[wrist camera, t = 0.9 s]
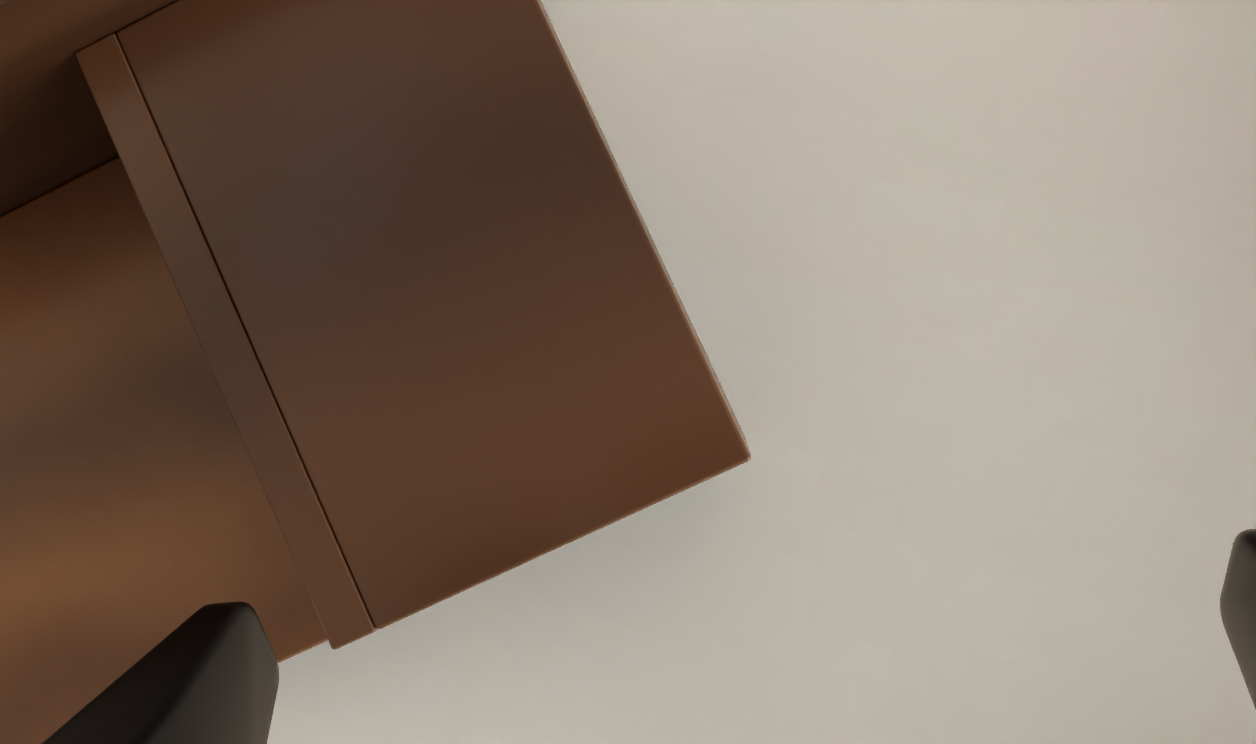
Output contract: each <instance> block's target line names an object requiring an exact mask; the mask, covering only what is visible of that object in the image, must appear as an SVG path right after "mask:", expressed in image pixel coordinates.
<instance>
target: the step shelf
mask: <svg viewBox="0 0 1256 744" xmlns="http://www.w3.org/2000/svg"><path fill="white" fill-rule="evenodd" d="M750 459H751V455H750V452H749V449H748V445H747V442H746V439H745V436H744V434H743V432H742V430H741V428H740V426H739V423H738V421H737V419H736V417H735V415H734V413H733V411H732V408H731V406H730V404H729V402H728V400H727V398H726V396H725V393H724V391H723V389H722V387H721V385H720V383H719V381H718V379H717V376H716V374H715V372H714V370H713V368H712V366H711V364H710V361H709V359H708V357H707V355H706V353H705V351H704V349H703V346H702V344H701V342H700V340H699V338H698V336H697V334H696V332H695V329H694V327H693V325H692V323H691V321H690V319H689V317H688V314H687V312H686V310H685V308H684V306H683V304H682V302H681V299H680V297H679V295H678V293H677V291H676V289H675V287H674V285H673V282H672V280H671V278H670V276H669V274H668V272H667V270H666V267H665V265H664V263H663V261H662V259H661V257H660V255H659V252H658V250H657V248H656V246H655V244H654V242H653V240H652V238H651V235H650V233H649V231H648V229H647V227H646V225H645V223H644V220H643V218H642V216H641V214H640V212H639V210H638V208H637V205H636V203H635V201H634V199H633V197H632V195H631V193H630V191H629V188H628V186H627V184H626V182H625V180H624V178H623V176H622V173H621V171H620V169H619V167H618V165H617V163H616V161H615V159H614V156H613V154H612V152H611V150H610V148H609V146H608V144H607V141H606V139H605V137H604V135H603V133H602V131H601V129H600V126H599V124H598V122H597V120H596V118H595V116H594V114H593V112H592V109H591V107H590V105H589V103H588V101H587V99H586V97H585V94H584V92H583V90H582V88H581V86H580V84H579V82H578V79H577V77H576V75H575V73H574V71H573V69H572V67H571V65H570V62H569V60H568V58H567V56H566V54H565V52H564V50H563V47H562V45H561V43H560V41H559V39H558V37H557V35H556V32H555V30H554V28H553V26H552V24H551V22H550V20H549V18H548V15H547V13H546V11H545V9H544V7H543V5H542V3H541V0H0V744H41V743H42V742H44V741H45V740H46V739H47V738H48V737H50V736H51V735H52V734H53V733H54V732H55V731H57V730H58V729H59V728H60V727H61V726H62V725H64V724H65V723H66V722H67V721H68V720H69V719H71V718H72V717H73V716H74V715H75V714H77V713H78V712H79V711H80V710H81V709H82V708H84V707H85V706H86V705H87V704H88V703H89V702H91V701H92V700H93V699H94V698H95V697H96V696H98V695H99V694H100V693H101V692H102V691H104V690H105V689H106V688H107V687H108V686H109V685H111V684H112V683H113V682H114V681H115V680H116V679H118V678H119V677H120V676H121V675H122V674H123V673H125V672H126V671H127V670H128V669H129V668H130V667H132V666H133V665H134V664H135V663H136V662H138V661H139V660H140V659H141V658H142V657H143V656H145V655H146V654H147V653H148V652H149V651H150V650H152V649H153V648H154V647H155V646H156V645H157V644H159V643H160V642H161V641H162V640H163V639H165V638H166V637H167V636H168V635H169V634H170V633H172V632H173V631H174V630H175V629H176V628H177V627H179V626H180V625H181V624H182V623H183V622H184V621H186V620H187V619H188V618H189V617H190V616H192V615H193V614H194V613H195V612H196V611H197V610H199V609H200V608H202V607H203V606H205V605H208V604H212V603H224V602H238V601H242V602H247V603H248V604H250V605H251V606H252V607H253V608H254V610H255V611H256V613H257V615H258V618H259V620H260V622H261V624H262V627H263V629H264V631H265V633H266V636H267V638H268V640H269V642H270V645H271V647H272V649H273V651H274V654H275V656H276V659H277V662H278V663H279V662H281V661H283V660H286V659H288V658H290V657H292V656H294V655H297V654H299V653H301V652H303V651H305V650H308V649H310V648H312V647H314V646H316V645H318V644H321V643H323V642H325V641H327V640H329V642H330V645H331V647H332V649H338V648H340V647H342V646H344V645H347V644H349V643H351V642H353V641H355V640H357V639H360V638H362V637H364V636H366V635H368V634H371V633H373V632H375V631H376V630H378V629H381V628H384V627H386V626H388V625H390V624H392V623H395V622H397V621H399V620H401V619H403V618H406V617H408V616H410V615H412V614H414V613H416V612H419V611H421V610H423V609H425V608H427V607H430V606H432V605H434V604H436V603H438V602H441V601H443V600H445V599H447V598H449V597H452V596H454V595H456V594H458V593H460V592H462V591H465V590H467V589H469V588H471V587H473V586H476V585H478V584H480V583H482V582H484V581H487V580H489V579H491V578H493V577H495V576H498V575H500V574H502V573H504V572H506V571H508V570H511V569H513V568H515V567H517V566H519V565H522V564H524V563H526V562H528V561H530V560H533V559H535V558H537V557H539V556H541V555H544V554H546V553H548V552H550V551H552V550H555V549H557V548H559V547H561V546H563V545H565V544H568V543H570V542H572V541H574V540H576V539H579V538H581V537H583V536H585V535H587V534H590V533H592V532H594V531H596V530H598V529H601V528H603V527H605V526H607V525H609V524H611V523H614V522H616V521H618V520H620V519H622V518H625V517H627V516H629V515H631V514H633V513H636V512H638V511H640V510H642V509H644V508H647V507H649V506H651V505H653V504H655V503H657V502H660V501H662V500H664V499H666V498H668V497H671V496H673V495H675V494H677V493H679V492H682V491H684V490H686V489H688V488H690V487H693V486H695V485H697V484H699V483H701V482H703V481H706V480H708V479H710V478H712V477H714V476H717V475H719V474H721V473H723V472H725V471H728V470H730V469H732V468H734V467H736V466H739V465H741V464H743V463H745V462H747V461H749V460H750Z"/></svg>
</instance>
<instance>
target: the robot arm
mask: <svg viewBox="0 0 1256 744" xmlns="http://www.w3.org/2000/svg"><path fill="white" fill-rule="evenodd" d="M1220 610H1221V617H1222V621H1223V624H1224V627H1225V630H1226V633H1227V635H1228V638H1229V640H1230V643H1231V646H1232V648H1233V651H1234V653H1235V656H1236V659H1237V661H1238V664H1239V667H1240V669H1241V672H1242V674H1243V677H1244V680H1245V682H1246V685H1247V687H1248V690H1249V693H1250V695H1251V698H1252V701H1253V703H1254V706H1255V708H1256V529H1249V530H1245V531H1242V532H1241V533H1239V534H1238V536H1237V537H1236V538H1235V541H1234V543H1233V547H1232V551H1231V555H1230V559H1229V563H1228V567H1227V572H1226V576H1225V580H1224V584H1223V588H1222V592H1221V598H1220ZM278 683H279V667H278V662H277V659H276V656H275V654H274V651H273V649H272V647H271V645H270V642H269V640H268V638H267V636H266V633H265V631H264V629H263V627H262V624H261V622H260V620H259V618H258V615H257V613H256V611H255V610H254V608H253V607H252V606H251V605H250V604H248V603H247V602H242V601H238V602H224V603H212V604H208V605H205V606H203V607H202V608H200V609H199V610H197V611H196V612H195V613H194V614H193V615H192V616H190V617H189V618H188V619H187V620H186V621H184V622H183V623H182V624H181V625H180V626H179V627H177V628H176V629H175V630H174V631H173V632H172V633H170V634H169V635H168V636H167V637H166V638H165V639H163V640H162V641H161V642H160V643H159V644H157V645H156V646H155V647H154V648H153V649H152V650H150V651H149V652H148V653H147V654H146V655H145V656H143V657H142V658H141V659H140V660H139V661H138V662H136V663H135V664H134V665H133V666H132V667H130V668H129V669H128V670H127V671H126V672H125V673H123V674H122V675H121V676H120V677H119V678H118V679H116V680H115V681H114V682H113V683H112V684H111V685H109V686H108V687H107V688H106V689H105V690H104V691H102V692H101V693H100V694H99V695H98V696H96V697H95V698H94V699H93V700H92V701H91V702H89V703H88V704H87V705H86V706H85V707H84V708H82V709H81V710H80V711H79V712H78V713H77V714H75V715H74V716H73V717H72V718H71V719H69V720H68V721H67V722H66V723H65V724H64V725H62V726H61V727H60V728H59V729H58V730H57V731H55V732H54V733H53V734H52V735H51V736H50V737H48V738H47V739H46V740H45V741H44V742H42V743H41V744H267V740H268V734H269V729H270V724H271V719H272V714H273V709H274V704H275V699H276V694H277V689H278Z"/></svg>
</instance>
